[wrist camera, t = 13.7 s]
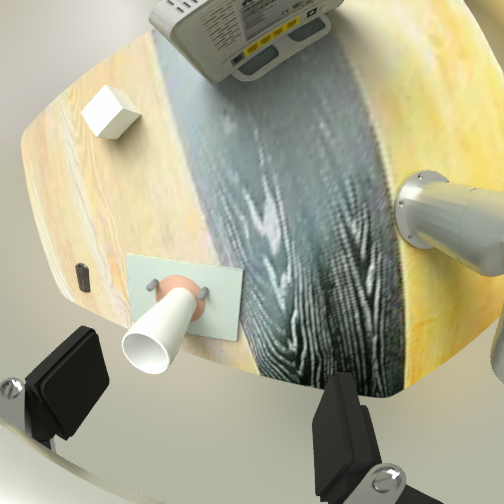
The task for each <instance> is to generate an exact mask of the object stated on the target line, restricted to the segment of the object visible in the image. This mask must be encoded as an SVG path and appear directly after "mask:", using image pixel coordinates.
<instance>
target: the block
mask: <svg viewBox="0 0 504 504" xmlns="http://www.w3.org/2000/svg"><path fill="white" fill-rule="evenodd" d="M75 267H76V273H77V278H78V283H79V288H80V290H81V291H84V292H90V283H89V270H88V267H87V266H86V265H85V264H83V263H78V264H76V266H75Z"/></svg>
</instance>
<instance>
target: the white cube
mask: <svg viewBox="0 0 504 504" xmlns="http://www.w3.org/2000/svg"><path fill="white" fill-rule="evenodd" d="M81 114H82V115H83V117H84V118H85V120H86V122H87V123H88V125H89V126H90V128H91V130H92V131H93V133H94V134H95V136H96V137H99V138H108V139H116V140H117V139H118V138H119V137H120V136H121V135H122V134H123V133H124V132H125V131H126V130H127V128H128V127H129V126H130V125H131V124H132V123H133V122H134V121H135V120H136V119H137V118H138V117H139V116H140V115H142V114H141V113H140V112H139V110H138V109H137V108H136V107H135V105H134V104H133V103H132V101H131V100H130V99H129V97H128V96H127V95H126V93H125V92H123V91H120V90H118V89H116V88H113V87H111V86H108V85H105V86H104V87H103V88H102V89H101V90H100V91H99V92H98V93H97V94H96V96H95V97H94V98H93V99H92V100H91V101H90V102H89V104H88V105H87V106H86V107H85V108H84V110H83V111H82V112H81Z"/></svg>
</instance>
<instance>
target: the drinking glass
mask: <svg viewBox="0 0 504 504" xmlns="http://www.w3.org/2000/svg"><path fill="white" fill-rule="evenodd" d="M196 308H197V301H196V298H195V296H194V295H193V294H192V293H191V292H190V291H189V290H187V289H185V288H181V287H177V288H173V289H172V290H170V291H169V292H168V293H167V294H166V295H165V296H164V297H163V298H162V299H161V300H160V301H159V302H157V303H156V304H155V305H154V306H153V307H152V308H150V309H149V310H148V311H147V312H146V313H145V314H143V315H142V316H141V317H140V318H139V319H138V320H137V321H136V322H135V323H134V324H133V325H132V327H131V328H130V329H129V330H128V332H127V333H126V334H125V336H124V337H123V340H122V349H123V352H124V354H125V356H126V358H127V359H128V360H129V361H130V362H131V364H133V365H134V366H135V367H136V368H138V369H139V370H141V371H143V372H146V373H149V374H160V373H163V372H165V371H166V370H167V369H168V368H169V366H170V365H171V363H172V361H173V360H174V358H175V356H176V354H177V353H178V351H179V348H180V346H181V344H182V341H183V339H184V336H185V333H186V331H187V328H188V326H189V323H190V321H191V318H192V316H193V314H194V312H195V311H196Z"/></svg>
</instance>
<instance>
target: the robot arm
mask: <svg viewBox="0 0 504 504" xmlns="http://www.w3.org/2000/svg"><path fill="white" fill-rule="evenodd" d="M418 176H419V178H418ZM399 202H400V205H399ZM394 216H395V222H396V225H397V228H398V230H399V232H400V234H401V235H402V237H403V238H404V239H405V240H406V241H407V242H408V243H410V244H411V245H413V246H415V247H417V248H420V249H431V248H437V249H439V250H441V251H442V252H444V253H446V254H447V255H449V256H450V257H452V258H454V259H455V260H457V261H459V262H460V263H462V264H463V265H465V266H466V267H468V268H470V269H471V270H473V271H474V272H476V273H478V274H480V275H483V276H486V277H495V276H499V275H502V274H504V192H501V191H496V190H490V189H484V188H478V187H472V186H466V185H460V184H453V183H450V182H449V181H448V180H447V179H446V177H444V176H443V175H441V174H440V173H438V172H435V171H430V170H422V171H417V172H415V173H413V174H411V175H410V176H409V177H407V178H406V179H405V181H404V182H403V183H402V184H401V186H400V188H399V190H398V192H397V195H396V198H395V203H394ZM408 236H409V237H408ZM490 358H491V365H492V369H493V371H494V373H495V375H496V376H497V377H498V378H499V380H500V381H502V382H503V383H504V304H503V308H502V312H501V316H500V319H499V323H498V326H497V330H496V333H495V336H494V340H493V344H492V348H491V356H490ZM25 381H26V384H25V385H24V383H23V382H22V381H21V380H20V379H18V378H8V379H6V380H4V381H3V382H1V384H0V504H169V503H165V502H162V501H159V500H156V499H153V498H149V497H147V496H144V495H141V494H138V493H136V492H133V491H130V490H128V489H125V488H123V487H120V486H118V485H116V484H113V483H111V482H109V481H106V480H105V479H102V478H100V477H98V476H96V475H94V474H92V473H90V472H88V471H86V470H84V469H82V468H80V467H79V466H77V465H75V464H73V463H71V462H69V461H68V460H66V459H64V458H63V457H61V456H59V455H58V454H56V450H55V443H54V435H55V434H57V435H58V436H59V437H61V438H62V439H64V440H67V439H68V438H69V437H71V436H73V435H74V433H75V432H76V430H77V429H78V428H79V426H80V425H81V424H82V422H83V421H84V419H85V418H86V416H87V415H88V413H89V412H90V411H91V409H92V408H93V406H94V405H95V403H96V402H97V401H98V399H99V398H100V397H101V395H102V394H103V392H104V391H105V390H106V388H107V387H108V385H109V376H108V373H107V369H106V365H105V362H104V358H103V354H102V350H101V346H100V342H99V337H98V335H97V334H96V332H95V330H94V329H92V328H89V327H86V326H81V327H79V328H78V329H77V330H76V331H75V332H74V333H72V334H71V335H70V336H69V337H68V338H67V339H66V340H65V341H64V342H63V343H61V344H60V345H59V346H58V347H57V348H56V349H55V350H54V351H53V352H52V353H51V354H50V355H49V356H48V357H47V358H46V359H44V360H43V361H42V362H41V363H40V364H39V365H38V366H37V367H36V368H35V369H34V370H33V371H32V372H31V373H30V374H29V375H28V376H27V377H26V378H25ZM312 433H313V449H314V467H315V493H316V496H320V501H321V502H328V504H443V503H442V502H440V501H438V500H436V499H434V498H432V497H430V496H428V495H425V494H424V493H421V492H420V491H418V490H416V489H414V488H412V487H410V486H408V485H406V476H405V473H404V471H403V470H402V469H401V468H400V467H398V466H397V465H394V464H391V463H382V460H381V456H380V452H379V448H378V445H377V440H376V436H375V432H374V428H373V425H372V421H371V418H370V414H369V411H368V408H367V407H366V406H365V405H360V402H359V398H358V395H357V391H356V387H355V384H354V380H353V377H352V374H351V373H342V372H336V373H335V375H334V376H330V377H329V380H328V382H327V385H326V388H325V390H324V394H323V396H322V398H321V401H320V403H319V406H318V408H317V411H316V413H315V416H314V418H313V422H312Z"/></svg>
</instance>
